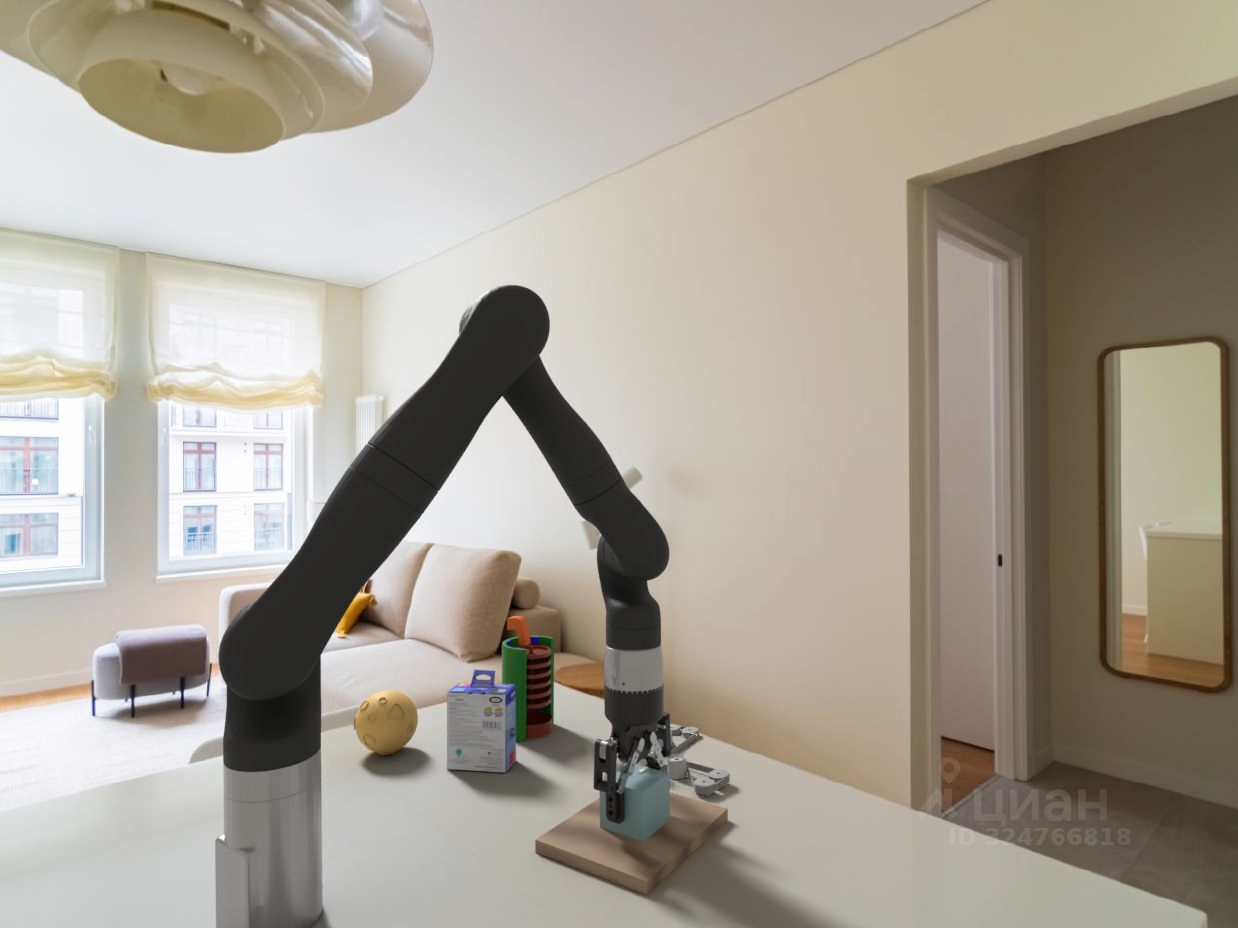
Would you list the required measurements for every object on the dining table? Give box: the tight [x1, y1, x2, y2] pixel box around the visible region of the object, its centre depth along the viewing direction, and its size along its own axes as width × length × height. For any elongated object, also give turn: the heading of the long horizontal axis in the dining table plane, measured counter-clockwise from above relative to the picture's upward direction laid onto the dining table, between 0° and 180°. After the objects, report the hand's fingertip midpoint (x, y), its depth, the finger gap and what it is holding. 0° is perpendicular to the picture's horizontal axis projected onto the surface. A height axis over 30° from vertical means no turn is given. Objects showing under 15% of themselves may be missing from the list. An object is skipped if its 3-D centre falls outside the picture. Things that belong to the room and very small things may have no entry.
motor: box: [501, 615, 555, 742], centre depth 129 cm, size 10×9×20 cm
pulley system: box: [619, 723, 731, 796], centre depth 116 cm, size 27×5×15 cm
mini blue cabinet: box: [599, 763, 671, 842], centre depth 92 cm, size 6×6×6 cm
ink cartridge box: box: [446, 669, 517, 773], centre depth 115 cm, size 10×6×14 cm, turn 81°
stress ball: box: [353, 689, 419, 756], centre depth 120 cm, size 10×10×10 cm
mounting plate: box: [534, 791, 729, 896], centre depth 93 cm, size 20×16×2 cm
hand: (634, 807), depth 93 cm, fingers open, 8 cm apart
